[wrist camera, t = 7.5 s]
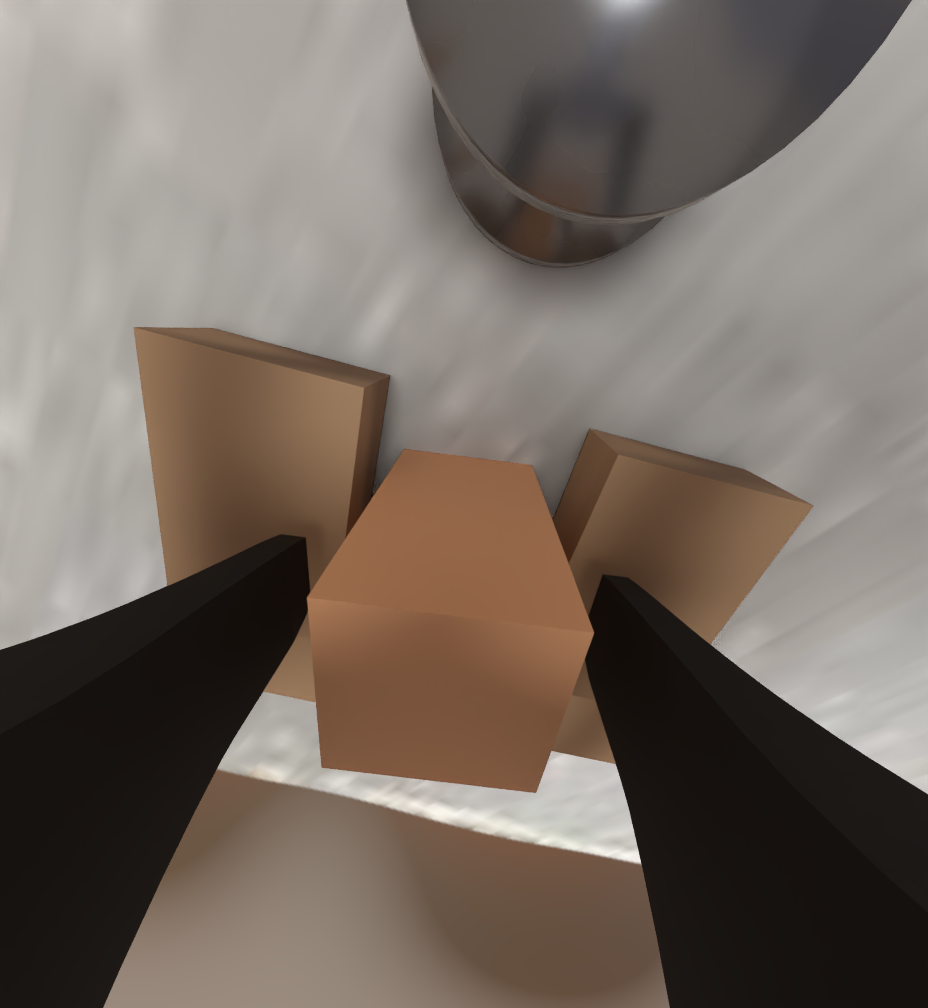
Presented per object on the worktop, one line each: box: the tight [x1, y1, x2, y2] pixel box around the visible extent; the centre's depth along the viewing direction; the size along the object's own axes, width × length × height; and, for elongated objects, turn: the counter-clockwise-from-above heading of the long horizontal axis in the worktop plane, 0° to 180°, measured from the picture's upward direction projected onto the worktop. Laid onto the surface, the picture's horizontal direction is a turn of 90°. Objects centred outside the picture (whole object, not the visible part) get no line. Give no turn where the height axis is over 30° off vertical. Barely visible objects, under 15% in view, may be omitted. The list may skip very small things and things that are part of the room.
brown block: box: [307, 449, 594, 793], centre depth 9 cm, size 4×4×7 cm
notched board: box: [134, 327, 813, 764], centre depth 12 cm, size 16×11×2 cm
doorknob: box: [406, 0, 912, 267], centre depth 6 cm, size 6×6×5 cm
